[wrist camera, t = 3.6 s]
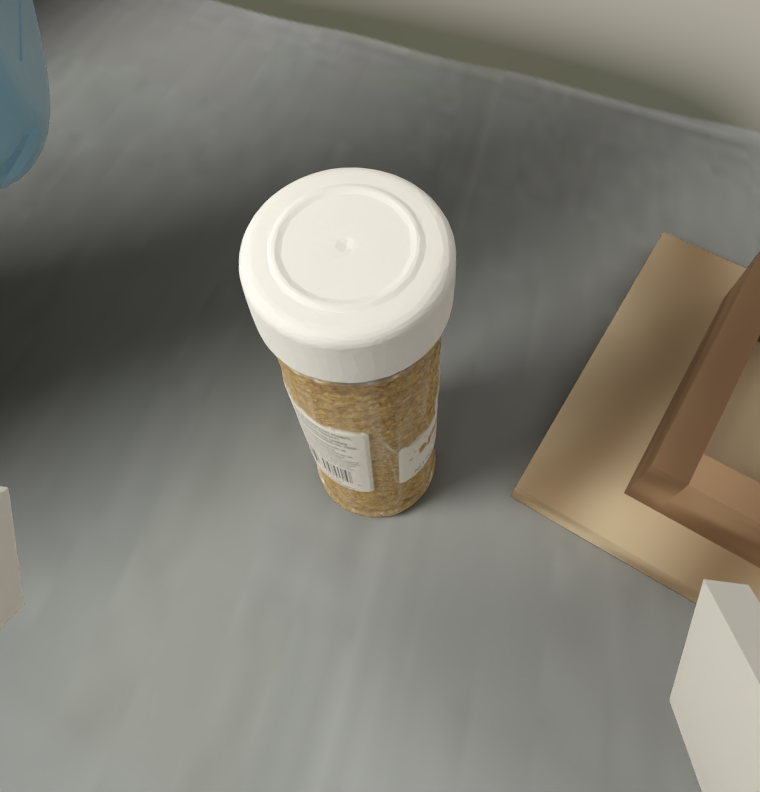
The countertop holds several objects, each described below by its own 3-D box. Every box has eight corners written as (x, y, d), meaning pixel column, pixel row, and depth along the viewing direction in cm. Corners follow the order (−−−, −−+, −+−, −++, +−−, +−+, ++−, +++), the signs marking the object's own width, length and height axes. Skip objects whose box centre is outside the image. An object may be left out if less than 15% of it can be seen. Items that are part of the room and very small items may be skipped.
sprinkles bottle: (456, 488, 25) (500, 286, 13) (345, 540, 25) (282, 379, 13) (403, 388, 27) (397, 129, 15) (297, 435, 27) (202, 204, 14)
